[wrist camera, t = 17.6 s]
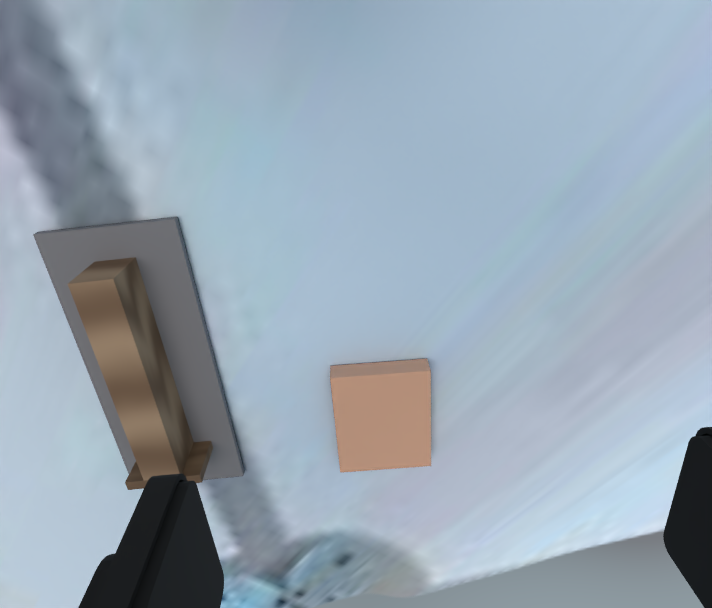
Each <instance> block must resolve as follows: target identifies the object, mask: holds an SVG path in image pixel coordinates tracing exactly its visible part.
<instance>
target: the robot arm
mask: <svg viewBox="0 0 712 608" xmlns="http://www.w3.org/2000/svg"><path fill="white" fill-rule="evenodd" d="M663 537H664V543H665V547H666V549H667V552H668V553H669V555H670V557H671V558H672V560H673V561H674V563H675V564H676V566H677V567H678V569H679V570H680V572H681V573H682V575H683V576H684V578H685V579H686V581H687V582H688V584H689V585H690V586H691V588H692V589H693V591H694V593H695V594H696V595H697V597H698V599H699V600H700V602H701V603H702V604H703V606H704V608H712V427H705V428H701V429H700V430H698V432H697V434H696V436H695V437H692V438H691V439H690V441H689V443H688V447H687V451H686V454H685V458H684V461H683V465H682V469H681V472H680V476H679V480H678V483H677V487H676V490H675V494H674V498H673V501H672V505H671V508H670V512H669V516H668V519H667V523H666V526H665V530H664V536H663ZM223 589H224V575H223V570H222V567H221V564H220V560H219V557H218V554H217V550H216V547H215V544H214V541H213V537H212V534H211V531H210V527H209V524H208V521H207V518H206V514H205V511H204V508H203V504H202V501H201V498H200V495H199V491H198V488H197V485H196V483H195V481H187V479H186V476H185V475H184V474H170V475H159V476H152V477H151V478H149V480H148V482H147V483H146V486H145V488H144V490H143V493H142V495H141V497H140V499H139V502H138V504H137V506H136V508H135V511H134V513H133V515H132V517H131V520H130V522H129V524H128V526H127V529H126V531H125V533H124V535H123V538H122V540H121V542H120V544H119V547H118V549H117V551H116V553H115V554H111V555H108V556H106V557H105V558H104V559H103V560H102V561H101V563H100V564H99V566H98V568H97V569H96V571H95V573H94V576H93V578H92V580H91V582H90V584H89V586H88V588H87V591H86V593H85V595H84V597H83V599H82V601H81V603H80V606H79V608H220V605H221V600H222V595H223Z"/></svg>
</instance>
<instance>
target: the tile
mask: <svg viewBox="0 0 712 608" xmlns="http://www.w3.org/2000/svg"><path fill="white" fill-rule="evenodd" d="M330 382H331V391H332V400H333V409H334V418H335V427H336V436H337V445H338V455H339V464H340V472H353V471H367V470H381V469H394V468H408V467H422V466H431V370H430V367H429V363H428V360H427V359H415V360H401V361H388V362H374V363H361V364H347V365H334V366H330Z"/></svg>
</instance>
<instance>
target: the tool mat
mask: <svg viewBox="0 0 712 608" xmlns="http://www.w3.org/2000/svg"><path fill="white" fill-rule="evenodd" d="M34 238H35V240H36V243H37V245H38V248H39V250H40V253H41V255H42V258H43V260H44V263H45V265H46V268H47V270H48V273H49V275H50V278H51V280H52V283H53V285H54V288H55V290H56V293H57V295H58V298H59V300H60V303H61V305H62V308H63V310H64V313H65V315H66V318H67V320H68V323H69V325H70V328H71V330H72V333H73V335H74V338H75V340H76V343H77V345H78V348H79V350H80V353H81V355H82V358H83V360H84V363H85V365H86V368H87V370H88V373H89V375H90V378H91V380H92V383H93V385H94V388H95V390H96V393H97V395H98V398H99V400H100V403H101V405H102V408H103V410H104V413H105V415H106V418H107V420H108V423H109V425H110V428H111V430H112V433H113V435H114V438H115V440H116V443H117V446H118V448H119V451H120V453H121V456H122V458H123V461H124V463H125V466H126V468H127V471H128V473H129V474H130V472H131V470H132V468H133V466H134V464H135V462H136V459H135V457H134V454H133V452H132V449H131V447H130V444H129V441H128V439H127V436H126V434H125V431H124V428H123V426H122V423H121V421H120V418H119V416H118V413H117V410H116V408H115V405H114V403H113V400H112V397H111V395H110V392H109V390H108V387H107V385H106V382H105V379H104V377H103V374H102V372H101V369H100V367H99V364H98V361H97V359H96V356H95V354H94V351H93V348H92V346H91V343H90V341H89V338H88V336H87V333H86V330H85V328H84V325H83V323H82V320H81V318H80V315H79V312H78V310H77V307H76V305H75V302H74V299H73V297H72V294H71V292H70V289H69V287H68V283H69V282H70V281H72V280H73V279H74V278H75V277H76V276H78V275H79V274H80V273H81V272H83V271H84V270H85V269H86V268H87V267H89V266H90V265H91V264H92V263H93V262H96V261H105V260H115V259H124V258H133V257H136V260H137V263H138V266H139V270H140V273H141V276H142V279H143V282H144V286H145V289H146V292H147V295H148V298H149V301H150V305H151V308H152V311H153V314H154V317H155V321H156V324H157V327H158V330H159V333H160V336H161V340H162V343H163V346H164V349H165V352H166V355H167V359H168V362H169V365H170V368H171V371H172V375H173V378H174V381H175V384H176V387H177V390H178V394H179V397H180V400H181V403H182V406H183V410H184V413H185V416H186V419H187V422H188V425H189V429H190V432H191V435H192V438H193V441H194V442H203V441H211V442H212V446H213V450H212V453H211V456H210V459H209V462H208V465H207V468H206V471H205V474H204V478H203V480H208V479H218V478H228V477H238V476H243V475H244V468H243V464H242V460H241V456H240V452H239V449H238V445H237V441H236V437H235V434H234V430H233V426H232V422H231V418H230V415H229V411H228V407H227V403H226V400H225V396H224V392H223V388H222V384H221V381H220V377H219V373H218V369H217V365H216V362H215V358H214V354H213V350H212V347H211V343H210V339H209V335H208V331H207V328H206V324H205V320H204V316H203V313H202V309H201V305H200V301H199V297H198V294H197V290H196V286H195V282H194V278H193V275H192V271H191V267H190V263H189V260H188V256H187V252H186V248H185V244H184V241H183V237H182V233H181V229H180V225H179V222H178V218H177V217H171V218H162V219H153V220H144V221H135V222H125V223H116V224H107V225H98V226H89V227H79V228H70V229H61V230H52V231H43V232H37V233H35V234H34Z"/></svg>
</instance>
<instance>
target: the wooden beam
mask: <svg viewBox="0 0 712 608" xmlns="http://www.w3.org/2000/svg"><path fill="white" fill-rule="evenodd" d="M68 287H69V289H70V292H71V294H72V297H73V299H74V302H75V305H76V307H77V310H78V312H79V315H80V318H81V320H82V323H83V325H84V328H85V330H86V333H87V336H88V338H89V341H90V343H91V346H92V348H93V351H94V354H95V356H96V359H97V361H98V364H99V367H100V369H101V372H102V374H103V377H104V379H105V382H106V385H107V387H108V390H109V392H110V395H111V397H112V400H113V403H114V405H115V408H116V410H117V413H118V416H119V418H120V421H121V423H122V426H123V428H124V431H125V434H126V436H127V439H128V441H129V444H130V447H131V449H132V452H133V454H134V457H135V459H136V462H135V464H134V466H133V468H132V470H131V472H130V474H129V476H128V478H127V480H126V482H125V483H126V486H127V488H128V490H132V489H142V488H145V486H146V483H147V482H148V480H149V478H151V477H152V476H159V475H170V474H184V475H185V476H186V479H187V481H195V483H200V482H202V481H203V478H204V474H205V471H206V468H207V465H208V462H209V459H210V456H211V453H212V450H213V446H212V442H211V441H203V442H194V441H193V438H192V435H191V432H190V429H189V425H188V422H187V419H186V416H185V413H184V410H183V406H182V403H181V400H180V397H179V394H178V390H177V387H176V384H175V381H174V378H173V375H172V371H171V368H170V365H169V362H168V359H167V355H166V352H165V349H164V346H163V343H162V340H161V336H160V333H159V330H158V327H157V324H156V321H155V317H154V314H153V311H152V308H151V305H150V301H149V298H148V295H147V292H146V289H145V286H144V282H143V279H142V276H141V273H140V270H139V266H138V263H137V260H136V257H133V258H124V259H115V260H105V261H96V262H93V263H92V264H91V265H90V266H89V267H87V268H86V269H85V270H84V271H83V272H81V273H80V274H79V275H78V276H76V277H75V278H74V279H73V280H72V281H70V282H69V283H68Z"/></svg>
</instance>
